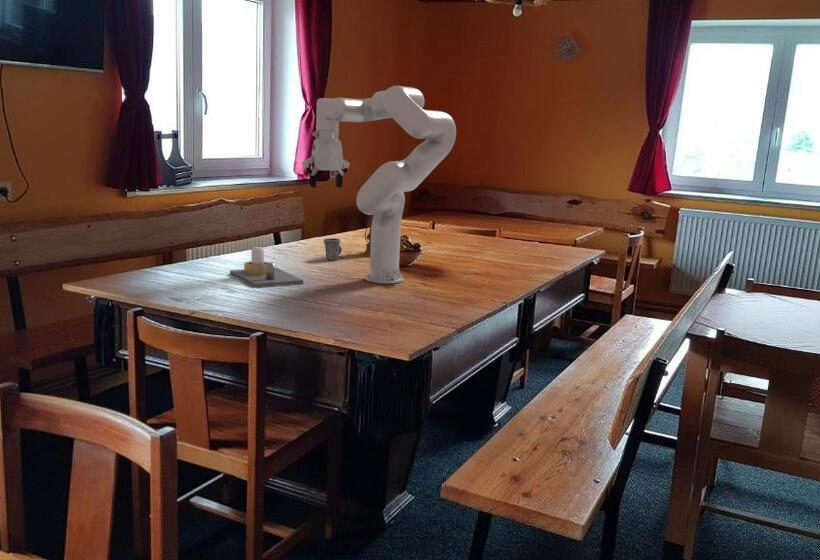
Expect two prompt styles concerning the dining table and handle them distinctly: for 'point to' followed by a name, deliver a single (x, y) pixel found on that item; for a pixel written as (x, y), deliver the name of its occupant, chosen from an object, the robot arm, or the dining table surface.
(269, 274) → the small stub
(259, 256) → the white rounded peg
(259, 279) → the fitting board
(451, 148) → the robot arm
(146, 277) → the dining table surface
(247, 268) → the brass socket
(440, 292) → the dining table surface
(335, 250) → the grey mug
